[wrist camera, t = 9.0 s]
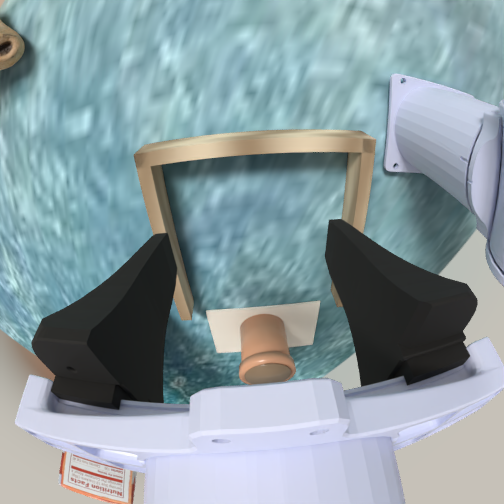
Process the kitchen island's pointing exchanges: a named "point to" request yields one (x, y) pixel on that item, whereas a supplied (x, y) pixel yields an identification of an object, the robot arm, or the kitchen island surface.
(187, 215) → the kitchen island surface
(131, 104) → the kitchen island surface
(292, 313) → the potting tile
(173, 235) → the wooden u-shaped frame
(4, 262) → the kitchen island surface
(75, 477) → the cracker box
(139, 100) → the kitchen island surface
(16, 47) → the pottery oil lamp
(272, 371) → the terracotta pot
